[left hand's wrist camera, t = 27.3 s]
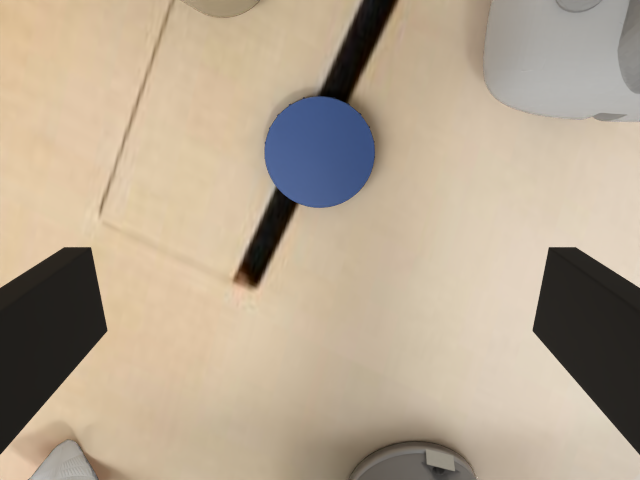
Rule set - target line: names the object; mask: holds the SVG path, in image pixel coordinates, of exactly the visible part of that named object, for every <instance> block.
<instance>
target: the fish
mask: <svg viewBox="0 0 640 480" xmlns="http://www.w3.org/2000/svg"><path fill="white" fill-rule="evenodd" d="M28 480H99V479H98V477H97V475H96V474H95V472H94V470H93V468H92V467H91V465H90V463H89V462H88V460H87V458H86V457H85V455H84V454H83V452H82V450H81V448H80V446H79V445H78V444H77V443H76V442H75V441H73V440H66V441H64V442H62V443H61V444H59V445H57V446H56V447H55V448H54V449H53V451H52V452H51V453H50V454H49V455H48V457H47V458H46V459H45V460H44V461H43V463H42V464H41V465H40V466H39V468H38V469H37V470H36V471H35V473H34V474H33V475H32V477H31V478H30V479H28Z"/></svg>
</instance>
